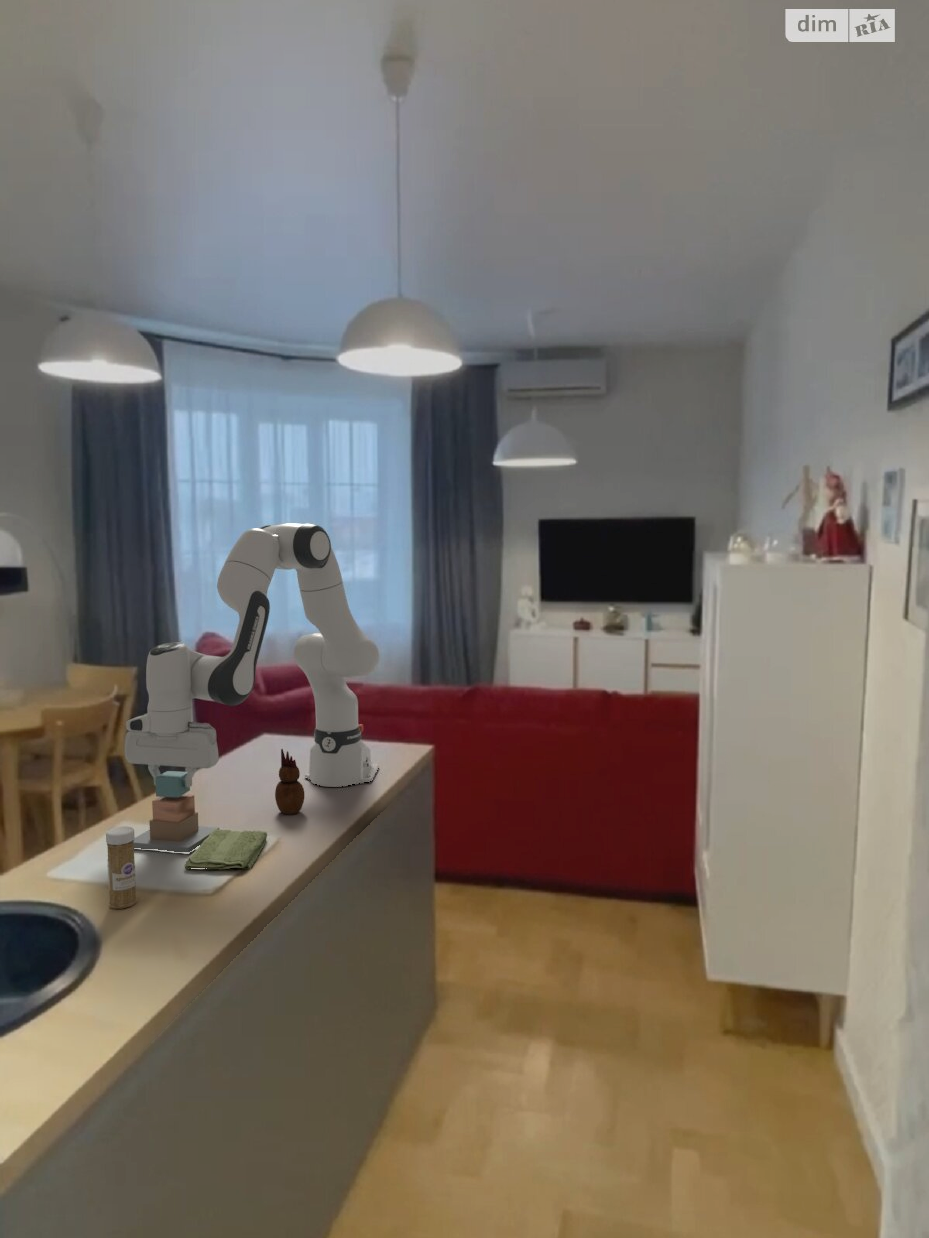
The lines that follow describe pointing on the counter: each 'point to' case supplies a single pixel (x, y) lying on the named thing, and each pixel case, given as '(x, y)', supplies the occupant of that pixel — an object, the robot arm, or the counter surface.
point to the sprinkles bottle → (121, 867)
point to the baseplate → (174, 845)
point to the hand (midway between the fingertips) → (173, 785)
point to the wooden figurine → (289, 787)
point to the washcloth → (228, 850)
